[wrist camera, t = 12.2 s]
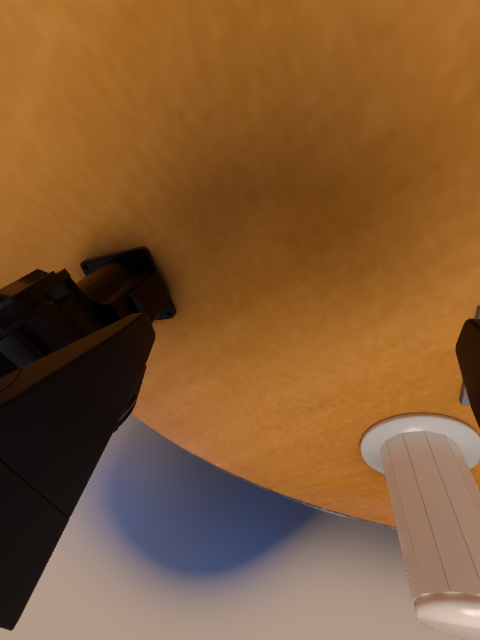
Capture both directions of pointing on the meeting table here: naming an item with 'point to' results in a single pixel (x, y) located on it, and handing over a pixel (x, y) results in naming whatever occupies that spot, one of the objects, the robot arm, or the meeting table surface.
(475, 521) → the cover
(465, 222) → the meeting table surface
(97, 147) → the meeting table surface
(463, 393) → the mat
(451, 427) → the saucer
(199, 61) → the meeting table surface
